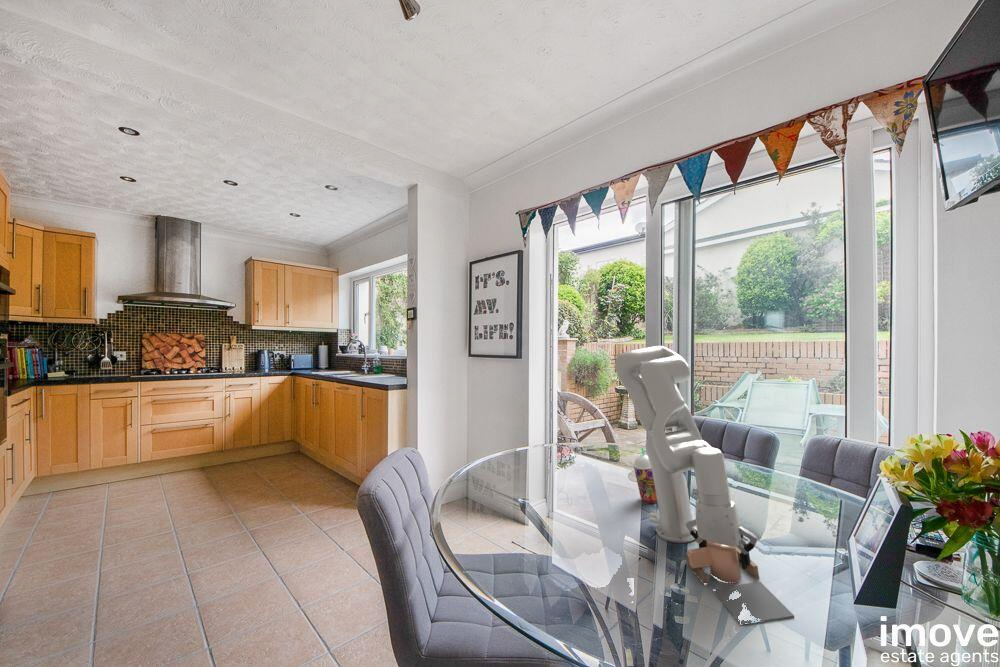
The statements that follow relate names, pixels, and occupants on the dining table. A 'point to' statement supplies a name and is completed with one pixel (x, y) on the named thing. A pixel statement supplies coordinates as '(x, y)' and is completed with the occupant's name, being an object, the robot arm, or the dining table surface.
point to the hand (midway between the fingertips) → (725, 561)
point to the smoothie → (645, 478)
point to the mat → (753, 602)
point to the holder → (751, 568)
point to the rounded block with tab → (717, 560)
